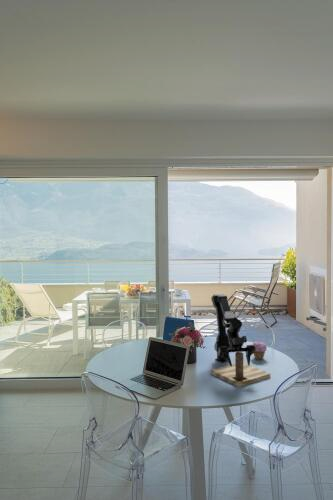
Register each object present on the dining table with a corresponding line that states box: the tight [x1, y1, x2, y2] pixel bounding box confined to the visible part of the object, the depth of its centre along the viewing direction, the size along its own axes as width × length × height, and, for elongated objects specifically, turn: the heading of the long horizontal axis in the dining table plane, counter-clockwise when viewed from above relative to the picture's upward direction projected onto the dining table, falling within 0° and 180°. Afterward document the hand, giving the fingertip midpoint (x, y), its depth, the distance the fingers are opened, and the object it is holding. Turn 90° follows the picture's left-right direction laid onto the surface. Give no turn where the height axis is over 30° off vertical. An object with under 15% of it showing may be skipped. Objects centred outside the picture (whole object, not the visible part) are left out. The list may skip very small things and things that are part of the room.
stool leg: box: [234, 352, 244, 382], centre depth 206 cm, size 4×4×15 cm
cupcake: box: [252, 341, 267, 360], centre depth 242 cm, size 9×9×10 cm
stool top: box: [210, 362, 271, 388], centre depth 216 cm, size 22×22×2 cm
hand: (240, 365), depth 205 cm, fingers open, 9 cm apart
